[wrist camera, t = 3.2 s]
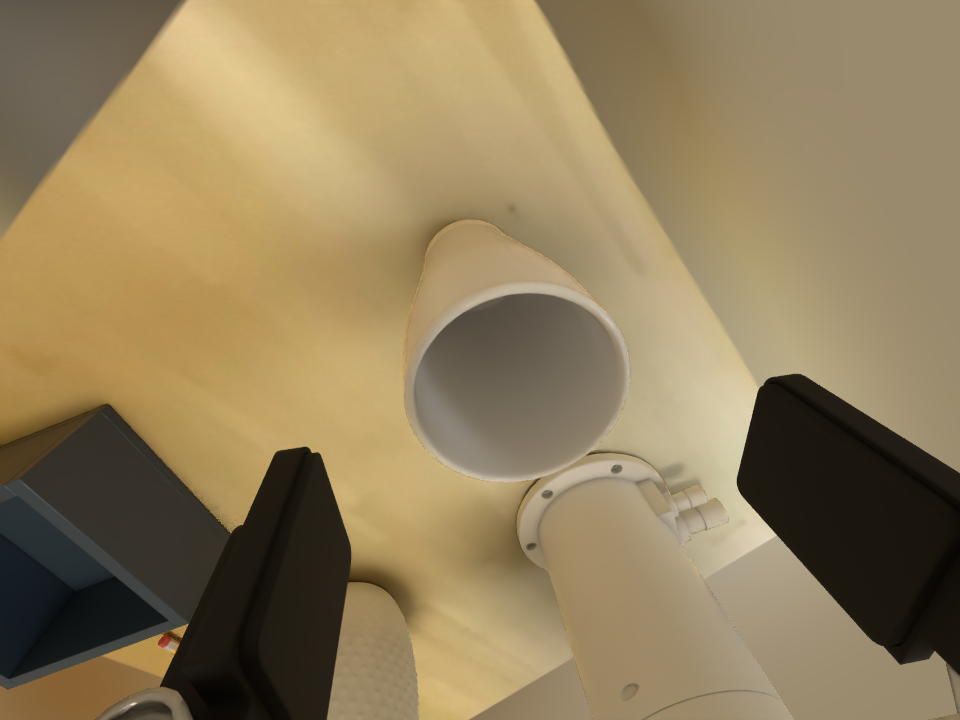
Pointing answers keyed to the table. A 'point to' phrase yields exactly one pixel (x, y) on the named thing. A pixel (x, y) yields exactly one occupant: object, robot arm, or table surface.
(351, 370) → the table surface
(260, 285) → the table surface
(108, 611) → the bin
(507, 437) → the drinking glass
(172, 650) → the pencil
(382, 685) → the mug
